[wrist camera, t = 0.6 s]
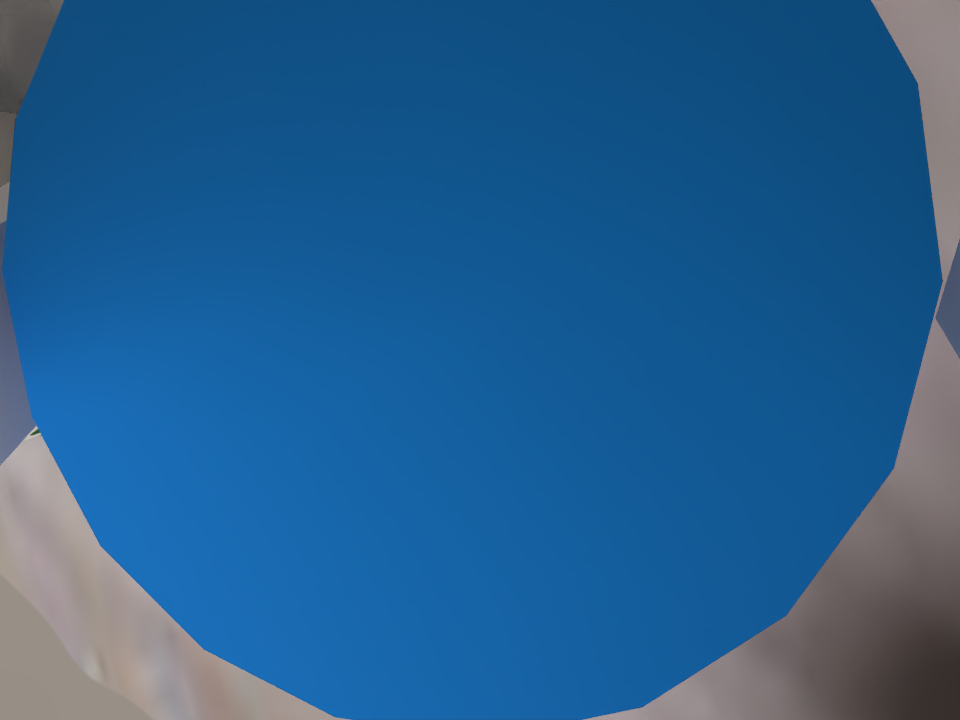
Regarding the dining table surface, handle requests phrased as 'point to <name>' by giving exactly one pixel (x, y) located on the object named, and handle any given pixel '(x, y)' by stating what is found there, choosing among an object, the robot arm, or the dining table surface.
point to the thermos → (471, 327)
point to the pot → (22, 45)
